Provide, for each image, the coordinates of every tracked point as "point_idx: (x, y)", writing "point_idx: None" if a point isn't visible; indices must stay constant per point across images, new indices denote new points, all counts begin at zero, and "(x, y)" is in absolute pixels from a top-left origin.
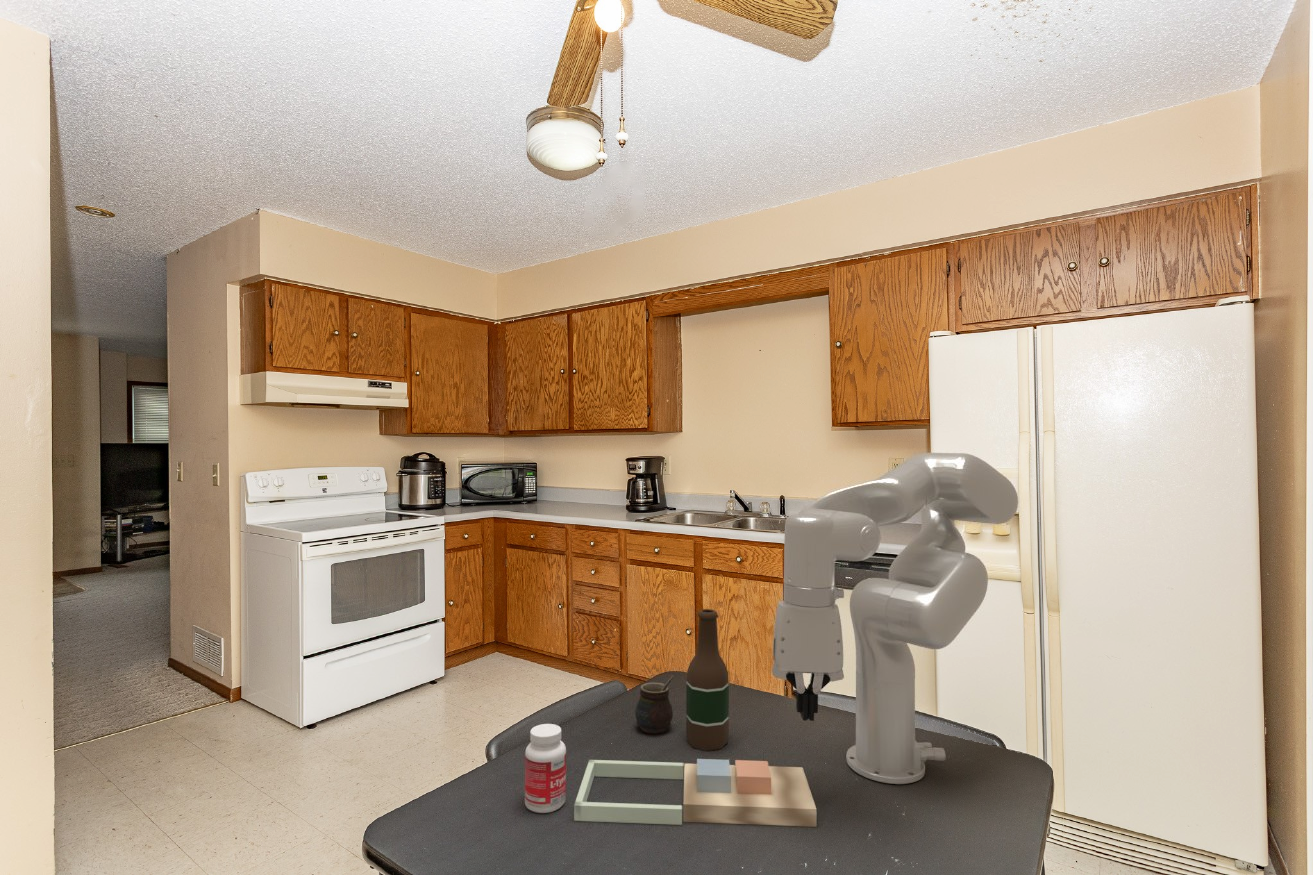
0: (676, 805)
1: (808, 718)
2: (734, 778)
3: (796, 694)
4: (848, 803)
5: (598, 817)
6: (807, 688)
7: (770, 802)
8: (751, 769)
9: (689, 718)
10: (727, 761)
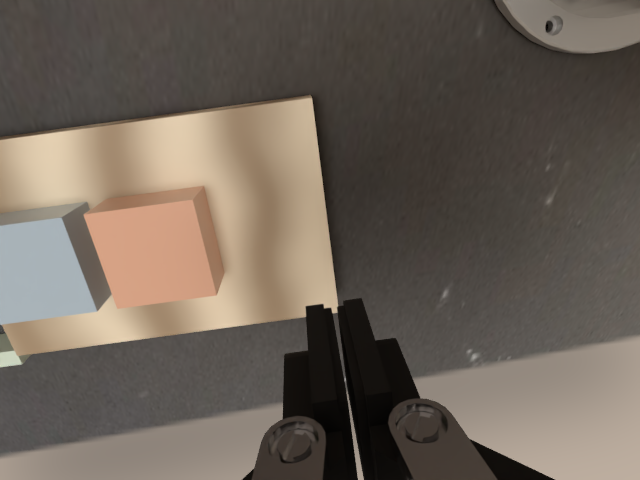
0: (2, 353)
1: (345, 373)
2: None
3: (283, 405)
4: (425, 180)
5: None
6: (365, 398)
7: (226, 307)
8: (150, 261)
9: None
10: (60, 229)
